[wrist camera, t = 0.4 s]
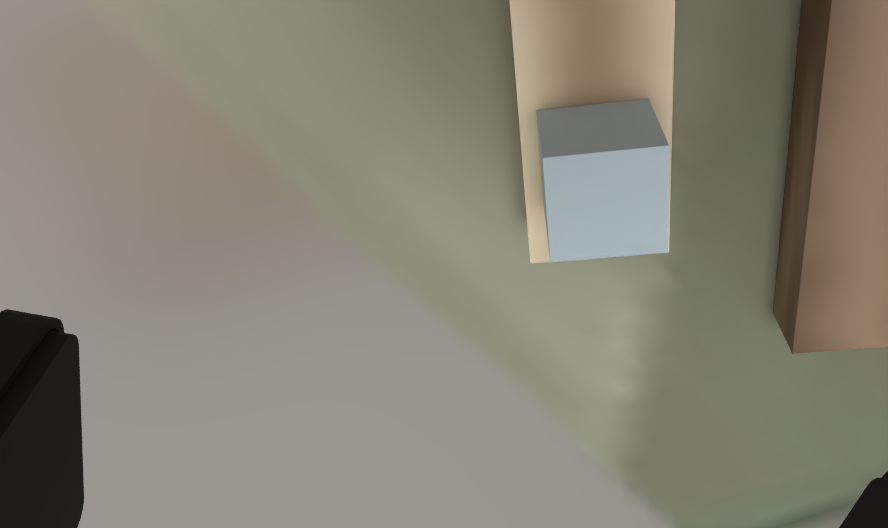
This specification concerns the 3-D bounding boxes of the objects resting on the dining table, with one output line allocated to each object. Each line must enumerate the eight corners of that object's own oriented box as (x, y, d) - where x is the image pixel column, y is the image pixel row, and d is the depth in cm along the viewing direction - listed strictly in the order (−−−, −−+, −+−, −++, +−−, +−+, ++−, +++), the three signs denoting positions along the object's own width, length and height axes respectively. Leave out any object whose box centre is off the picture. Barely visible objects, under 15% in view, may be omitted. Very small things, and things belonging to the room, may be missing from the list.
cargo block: (648, 98, 30) (668, 145, 27) (649, 197, 32) (668, 252, 29) (536, 110, 31) (542, 158, 27) (543, 207, 33) (550, 262, 29)
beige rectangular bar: (658, -283, 27) (682, -282, 24) (652, 203, 37) (668, 252, 34) (488, -259, 28) (489, -254, 25) (526, 214, 38) (530, 263, 34)
